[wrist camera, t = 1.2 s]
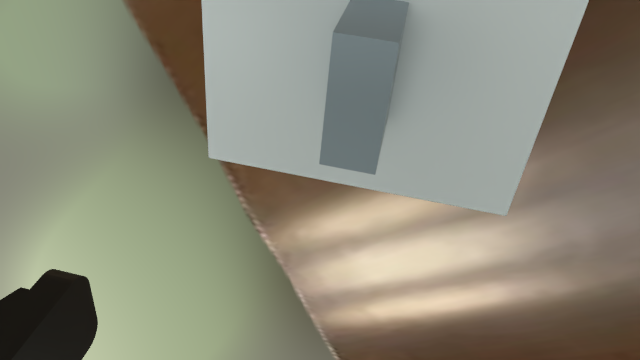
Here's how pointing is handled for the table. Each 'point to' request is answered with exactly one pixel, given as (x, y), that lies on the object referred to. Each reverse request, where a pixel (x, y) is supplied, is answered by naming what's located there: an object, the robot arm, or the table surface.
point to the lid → (386, 90)
